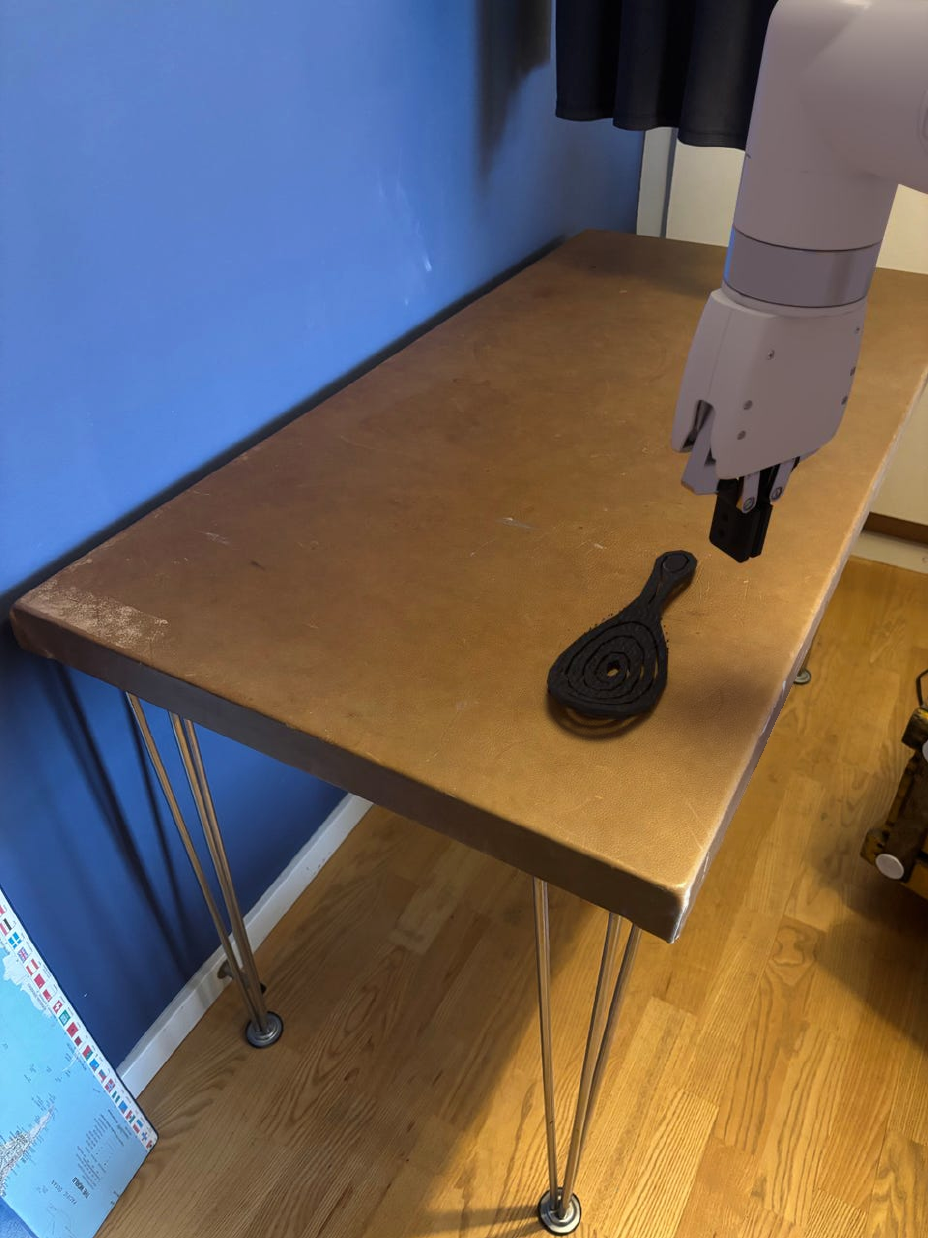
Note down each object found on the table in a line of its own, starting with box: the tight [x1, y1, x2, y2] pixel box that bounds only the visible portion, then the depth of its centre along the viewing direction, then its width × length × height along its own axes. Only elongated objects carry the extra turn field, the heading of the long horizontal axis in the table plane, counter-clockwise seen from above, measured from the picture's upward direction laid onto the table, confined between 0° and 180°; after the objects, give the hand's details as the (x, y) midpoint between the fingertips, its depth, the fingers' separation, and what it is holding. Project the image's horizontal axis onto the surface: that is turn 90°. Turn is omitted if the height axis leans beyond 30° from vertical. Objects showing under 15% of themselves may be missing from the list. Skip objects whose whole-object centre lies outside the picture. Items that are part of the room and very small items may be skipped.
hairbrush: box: [546, 549, 699, 721], centre depth 73 cm, size 8×4×25 cm
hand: (733, 548), depth 60 cm, fingers closed
